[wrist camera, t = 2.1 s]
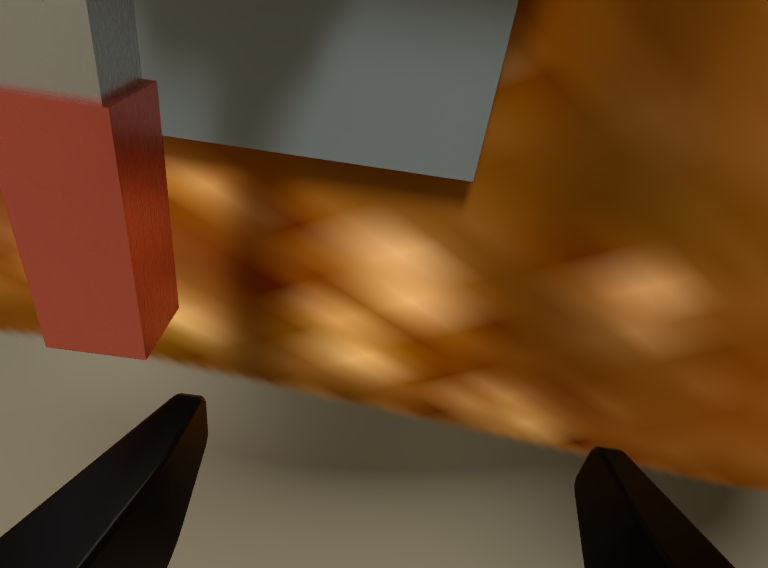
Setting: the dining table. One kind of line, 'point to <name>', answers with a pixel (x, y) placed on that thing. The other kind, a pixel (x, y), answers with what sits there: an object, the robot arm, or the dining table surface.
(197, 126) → the valve board
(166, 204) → the valve lever
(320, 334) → the dining table surface
